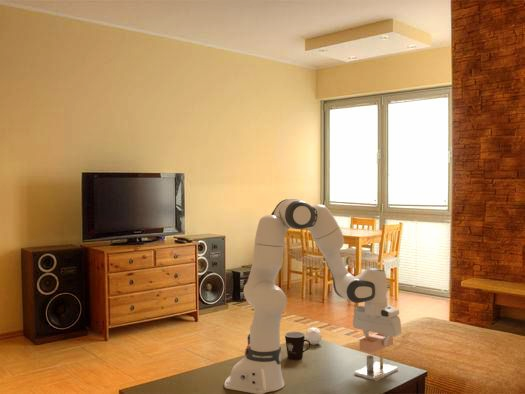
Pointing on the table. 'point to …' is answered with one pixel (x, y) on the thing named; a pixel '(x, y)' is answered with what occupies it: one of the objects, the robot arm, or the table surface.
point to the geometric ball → (313, 335)
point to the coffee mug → (295, 345)
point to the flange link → (374, 343)
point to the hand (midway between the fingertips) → (376, 343)
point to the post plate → (375, 369)
